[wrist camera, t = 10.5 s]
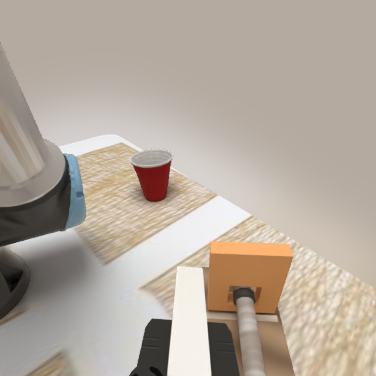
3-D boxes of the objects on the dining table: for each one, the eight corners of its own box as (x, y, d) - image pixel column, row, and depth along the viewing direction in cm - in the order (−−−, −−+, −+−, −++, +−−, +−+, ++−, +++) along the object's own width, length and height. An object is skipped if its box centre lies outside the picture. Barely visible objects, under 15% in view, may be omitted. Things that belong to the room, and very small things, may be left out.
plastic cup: (165, 180, 73) (162, 143, 67) (182, 199, 66) (181, 158, 59) (129, 191, 69) (123, 152, 62) (143, 212, 61) (137, 170, 55)
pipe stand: (330, 539, 22) (364, 533, 18) (196, 525, 23) (197, 516, 18) (266, 275, 45) (274, 244, 41) (201, 272, 46) (202, 242, 42)
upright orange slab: (274, 313, 37) (293, 256, 30) (207, 309, 38) (210, 253, 31) (271, 301, 39) (288, 244, 32) (207, 297, 39) (210, 241, 32)
